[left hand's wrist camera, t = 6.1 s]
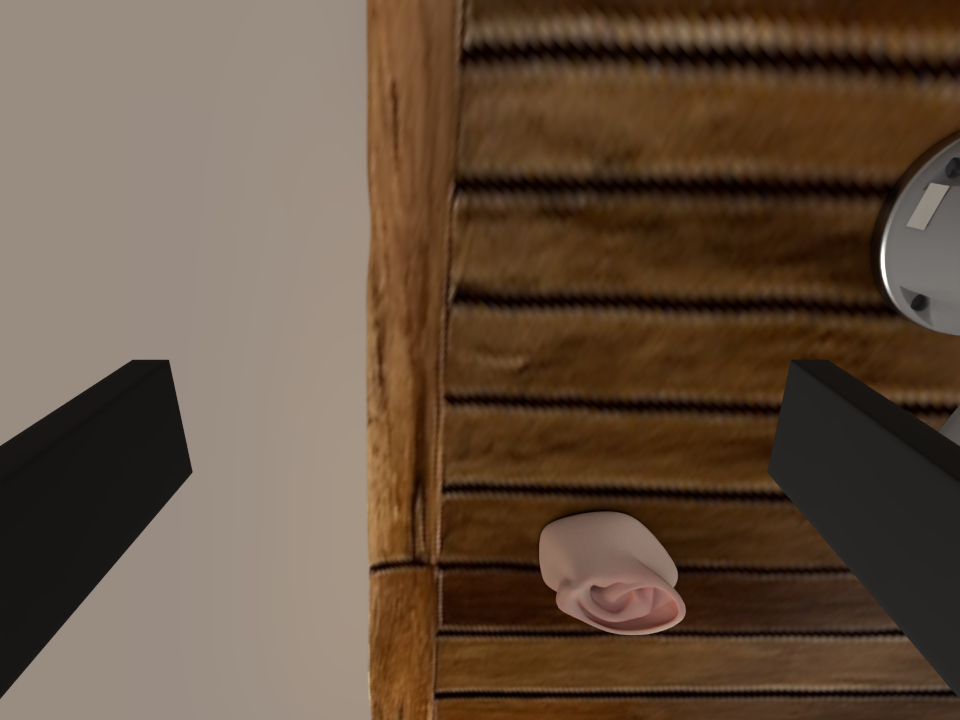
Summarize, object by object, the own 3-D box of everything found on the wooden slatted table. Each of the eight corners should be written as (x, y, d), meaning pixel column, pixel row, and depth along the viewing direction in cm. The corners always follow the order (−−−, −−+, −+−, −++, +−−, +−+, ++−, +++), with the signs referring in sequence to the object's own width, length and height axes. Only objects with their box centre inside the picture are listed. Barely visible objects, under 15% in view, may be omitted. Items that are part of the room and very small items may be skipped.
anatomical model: (519, 567, 49) (644, 513, 47) (516, 536, 53) (632, 485, 51) (585, 668, 53) (702, 622, 51) (578, 633, 57) (687, 589, 55)
